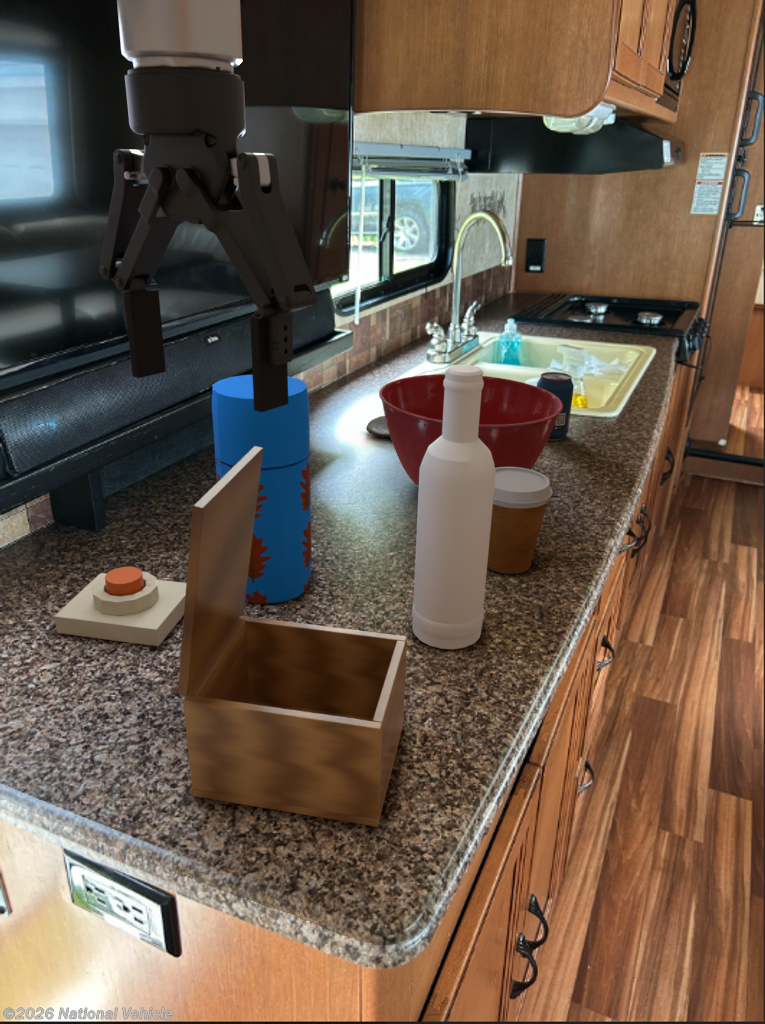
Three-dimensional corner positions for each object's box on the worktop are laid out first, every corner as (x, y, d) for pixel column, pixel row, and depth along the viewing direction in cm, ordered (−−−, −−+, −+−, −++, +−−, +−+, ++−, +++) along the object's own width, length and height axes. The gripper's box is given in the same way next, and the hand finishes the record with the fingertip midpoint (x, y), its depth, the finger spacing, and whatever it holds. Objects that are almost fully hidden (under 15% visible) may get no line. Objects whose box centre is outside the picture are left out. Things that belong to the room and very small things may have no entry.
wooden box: (403, 724, 72) (407, 636, 68) (377, 827, 61) (380, 729, 57) (245, 701, 75) (239, 615, 71) (192, 796, 63) (182, 700, 59)
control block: (56, 633, 85) (50, 601, 83) (103, 588, 94) (98, 559, 92) (158, 646, 83) (154, 615, 81) (196, 599, 92) (193, 570, 90)
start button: (100, 595, 85) (97, 581, 84) (117, 577, 89) (116, 564, 88) (133, 599, 85) (131, 585, 84) (150, 581, 88) (148, 568, 87)
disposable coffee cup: (529, 587, 96) (539, 499, 91) (459, 568, 100) (465, 483, 95) (552, 557, 104) (563, 474, 99) (486, 540, 108) (493, 460, 103)
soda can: (525, 431, 152) (531, 372, 147) (556, 429, 154) (563, 370, 149) (541, 443, 146) (548, 381, 141) (574, 440, 148) (582, 379, 143)
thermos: (297, 609, 90) (292, 402, 80) (211, 599, 92) (195, 395, 82) (320, 566, 100) (319, 377, 90) (242, 557, 102) (231, 371, 91)
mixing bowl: (508, 451, 142) (516, 369, 135) (584, 515, 117) (598, 417, 110) (359, 462, 135) (360, 375, 128) (405, 532, 110) (409, 428, 103)
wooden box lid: (263, 447, 63) (254, 445, 63) (203, 508, 52) (192, 505, 52) (243, 612, 70) (235, 609, 71) (186, 697, 59) (176, 694, 59)
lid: (427, 439, 151) (430, 414, 150) (402, 440, 143) (406, 413, 142) (381, 431, 156) (384, 407, 155) (355, 432, 148) (358, 406, 147)
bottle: (397, 630, 87) (406, 367, 74) (440, 604, 92) (456, 355, 80) (453, 660, 82) (473, 383, 69) (495, 630, 87) (522, 369, 75)
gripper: (373, 67, 46) (366, 411, 55) (115, 80, 59) (143, 355, 68) (286, 52, 40) (294, 437, 49) (23, 70, 54) (66, 370, 62)
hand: (206, 390), depth 58 cm, fingers open, 13 cm apart
